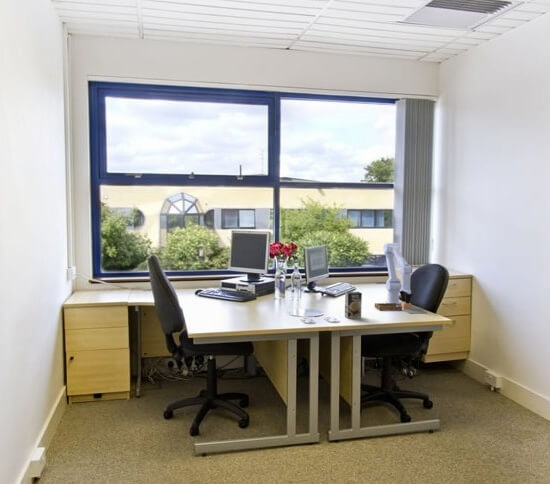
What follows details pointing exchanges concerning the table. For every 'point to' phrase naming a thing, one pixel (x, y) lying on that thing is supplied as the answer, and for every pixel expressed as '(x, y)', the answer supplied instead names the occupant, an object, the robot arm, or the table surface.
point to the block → (405, 305)
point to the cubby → (387, 306)
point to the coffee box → (353, 304)
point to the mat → (414, 311)
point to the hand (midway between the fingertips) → (405, 302)
